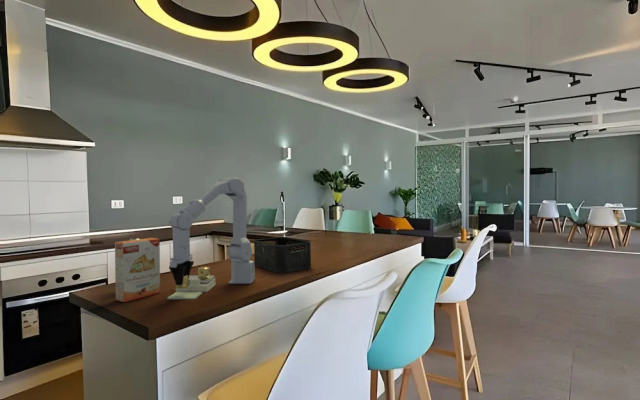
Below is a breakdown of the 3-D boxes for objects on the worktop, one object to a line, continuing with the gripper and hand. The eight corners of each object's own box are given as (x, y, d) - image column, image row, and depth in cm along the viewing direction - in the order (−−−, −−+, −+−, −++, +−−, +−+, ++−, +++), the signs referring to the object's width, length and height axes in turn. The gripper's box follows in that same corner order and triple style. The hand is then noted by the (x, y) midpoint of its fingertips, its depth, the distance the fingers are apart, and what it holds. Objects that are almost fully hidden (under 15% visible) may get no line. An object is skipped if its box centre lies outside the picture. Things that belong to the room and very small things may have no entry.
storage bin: (251, 264, 183) (251, 239, 183) (283, 259, 195) (283, 235, 194) (279, 275, 160) (279, 245, 160) (313, 268, 172) (313, 241, 171)
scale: (215, 284, 144) (215, 273, 144) (206, 291, 134) (206, 279, 134) (186, 284, 144) (186, 273, 144) (175, 291, 134) (175, 279, 134)
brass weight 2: (211, 276, 142) (211, 266, 142) (207, 279, 138) (207, 269, 137) (200, 276, 142) (200, 266, 142) (196, 279, 138) (196, 269, 138)
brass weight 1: (190, 285, 130) (190, 274, 130) (185, 288, 126) (184, 277, 126) (178, 284, 131) (178, 274, 131) (173, 288, 126) (172, 277, 126)
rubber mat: (202, 293, 132) (202, 292, 132) (195, 299, 125) (194, 297, 125) (176, 293, 132) (176, 292, 132) (167, 299, 125) (167, 297, 125)
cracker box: (124, 303, 121) (122, 243, 120) (115, 300, 124) (113, 241, 124) (161, 293, 133) (160, 238, 132) (152, 290, 136) (150, 237, 136)
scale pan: (214, 278, 144) (214, 275, 143) (208, 283, 136) (208, 280, 136) (186, 278, 144) (186, 275, 144) (178, 283, 136) (178, 280, 136)
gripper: (179, 243, 135) (180, 277, 136) (161, 249, 121) (161, 288, 121) (197, 242, 135) (198, 277, 136) (181, 249, 121) (181, 288, 121)
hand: (182, 282), depth 128 cm, fingers closed on brass weight 1, 4 cm apart
